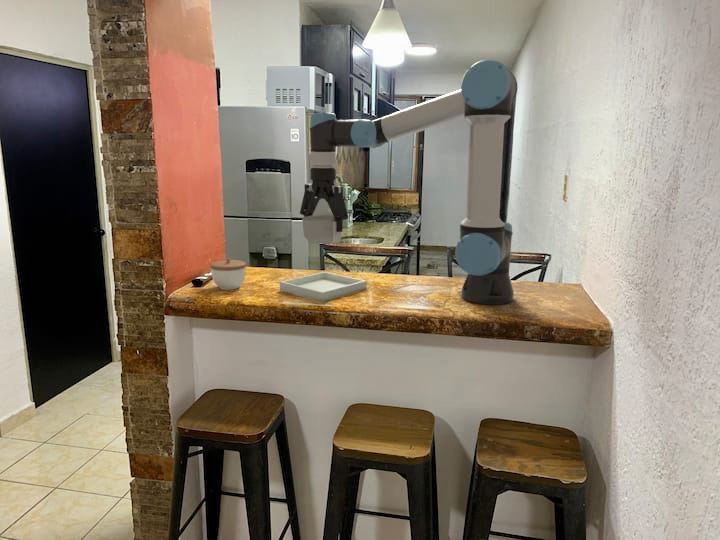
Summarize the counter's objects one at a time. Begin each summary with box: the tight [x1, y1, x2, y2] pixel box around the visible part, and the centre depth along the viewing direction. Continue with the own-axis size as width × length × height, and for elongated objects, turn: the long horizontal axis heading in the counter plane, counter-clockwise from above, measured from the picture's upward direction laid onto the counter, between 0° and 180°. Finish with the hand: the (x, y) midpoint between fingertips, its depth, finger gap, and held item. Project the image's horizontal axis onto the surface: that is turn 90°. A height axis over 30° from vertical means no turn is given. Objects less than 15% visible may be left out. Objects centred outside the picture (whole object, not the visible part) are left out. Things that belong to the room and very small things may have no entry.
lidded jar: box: [210, 257, 247, 291], centre depth 168 cm, size 11×11×9 cm
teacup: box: [301, 214, 335, 245], centre depth 163 cm, size 14×11×8 cm
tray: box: [279, 271, 368, 303], centre depth 167 cm, size 19×20×3 cm
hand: (323, 240), depth 164 cm, fingers closed on teacup, 11 cm apart
